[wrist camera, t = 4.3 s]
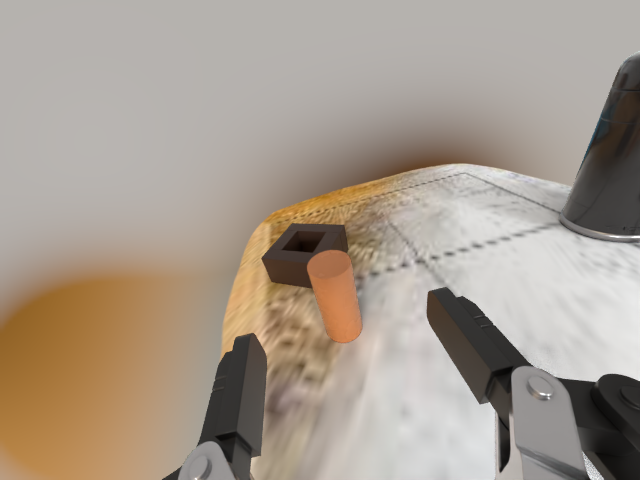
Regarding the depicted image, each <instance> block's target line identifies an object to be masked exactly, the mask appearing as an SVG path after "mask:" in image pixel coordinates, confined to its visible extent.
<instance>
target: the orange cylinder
mask: <svg viewBox="0 0 640 480" xmlns="http://www.w3.org/2000/svg"><path fill="white" fill-rule="evenodd" d="M307 271H308V274H309V277H310V281H311V284H312V287H313V290H314V293H315V296H316V300H317V303H318V306H319V309H320V312H321V316H322V319H323V322H324V325H325V328H326V331H327V334H328V336H329V337H330V338H331V339H332V340H334V341H336V342H340V343H346V342H350V341H352V340H354V339H356V338H357V337H358V336H359V334H360V333H361V330H362V320H361V314H360V309H359V303H358V297H357V292H356V286H355V280H354V275H353V269H352V263H351V259H350V257H349V255H348V254H346V253H345V252H343V251H339V250H327V251H323V252H321V253H318V254H317V255H315V256H314V257H312V258H311V259H310V261H309V262H308V265H307Z"/></svg>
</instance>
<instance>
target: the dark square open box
mask: <svg viewBox="0 0 640 480" xmlns="http://www.w3.org/2000/svg"><path fill="white" fill-rule="evenodd" d="M327 250H339V251H343V252H345V253H347V251H348V244H347V238H346V233H345V227H344V225H330V224H295V223H292V224H291V225H290V226H289V227H288V229H287V230H286V231H285V232H284V233H283V234H282V235H281V236H280V238H279V239H278V240H277V241H276V242H275V243H274V244H273V245H272V247H271V248H270V249H269V250H268V251H267V252H266V253H265V255H264V256H263V257H262V258H261V259H262V261H263V263H264V265H265V268H266V270H267V272H268V274H269V277H270V279H271V281H272V282H276V283H282V284H288V285H294V286H301V287H307V288H313V287H312V284H311V281H310V277H309V274H308V271H307V265H308V262H309V261H310V259H311V258H312V257H314V256H315V255H317V254H318V253H321V252H323V251H327Z"/></svg>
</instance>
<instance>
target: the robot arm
mask: <svg viewBox="0 0 640 480" xmlns="http://www.w3.org/2000/svg"><path fill="white" fill-rule="evenodd" d="M559 219H560V221H561V223H562V224H563V225H564V226H566V227H567V228H569V229H570V230H572V231H574V232H577V233H579V234H582V235H585V236H588V237H592V238H596V239H601V240H607V241H615V242H640V51H639V52H637V53H635V54H633V55H631V56H630V57H628V58H627V59H626V60H625V61H624V62H623V63H622V65H621V66H620V68H619V70H618V72H617V75H616V77H615V80H614V82H613V85H612V88H611V90H610V92H609V95H608V98H607V100H606V103H605V105H604V108H603V110H602V113H601V116H600V118H599V121H598V123H597V126H596V128H595V132H594V134H593V136H592V139H591V141H590V144H589V146H588V149H587V151H586V154H585V156H584V159H583V161H582V164H581V167H580V169H579V171H578V174H577V177H576V179H575V182H574V184H573V187H572V189H571V192H570V194H569V196H568V199H567V202H566V204H565V207H564V208H563V209H562V212H561V214H560V217H559ZM427 318H428V321H429V323H430V326H431V327H432V329H433V331H434V332H435V334H436V335H437V337H438V338H439V340H440V342H441V343H442V345H443V346H444V348H445V350H446V351H447V353H448V354H449V356H450V358H451V359H452V361H453V362H454V364H455V366H456V367H457V369H458V370H459V372H460V374H461V375H462V377H463V378H464V380H465V381H466V383H467V385H468V386H469V388H470V389H471V391H472V393H473V394H474V396H475V397H476V399H477V401H478V402H479V404H484V403H488V402H490V403H491V405H492V406H493V408H494V409H495V480H590V478H589V476H588V474H587V471H586V467H585V462H584V458H583V453H582V451H583V452H584V453H585V455H586V456H587V457H588V459H589V460H590V461H591V462H592V464H593V465H594V466H595V468H596V469H597V470H598V471H599V473H600V474H601V475H602V477H603V478H604V479H605V480H640V381H637V380H635V379H633V378H630V377H627V376H624V375H619V374H606V375H603V376H602V377H601V378H600V379H599V380H598V381H597V382H589V381H579V380H569V379H562V378H557V377H554V376H552V375H551V374H549V373H548V372H546V371H544V370H542V369H539V368H536V367H534V366H533V365H531V364H530V363H529V362H528V361H527V360H526V359H525V358H524V357H523V356H522V355H521V354H520V353H519V351H518V350H517V349H516V348H515V347H514V346H513V345H512V344H511V343H510V342H509V340H508V339H507V338H506V337H505V336H504V335H503V334H502V333H501V332H500V331H499V329H498V328H497V327H496V326H494V325H493V323H492V322H491V321H490V320H489V318H488V317H486V316H485V314H484V313H483V312H482V311H481V310H480V309H479V307H478V306H477V305H476V304H475V303H473V302H471V301H470V300H468V299H466V298H465V297H463V296H461V297H457V298H456V297H455V295H454V294H453V293H452V292H451V291H450V290H449V289H448V288H447V287H444V288H440V289H436V290H432V291H429V292H428V298H427ZM266 374H267V358H266V354H265V351H264V349H263V347H262V346H261V344H260V342H259V341H258V339H257V337H256V335H255V334H254V333H251V334H247V335H242V336H238V337H236V338H235V341H234V345H233V350H232V351H230V352H226V353H225V355H224V357H223V358H222V360H221V362H220V363H219V365H218V369H217V373H216V377H215V381H214V385H213V389H212V390H213V392H212V393H211V397H210V401H209V405H208V409H207V413H206V417H205V421H204V425H203V429H202V433H201V437H200V440H199V442H198V445H197V447H196V448H195V449H194V450H193V451H192V452H191V453H190V454H189V456H188V457H187V459H186V460H185V462H184V463H183V465H182V466H181V467H180V468H179V469H177V470H176V471H175V472H173V473H171V474H170V475H168V476H167V477H166V478H164V479H162V480H254V478H253V476H252V474H251V473H250V466H251V458H252V457H257V456H261V446H262V431H263V417H264V402H265V388H266Z"/></svg>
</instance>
